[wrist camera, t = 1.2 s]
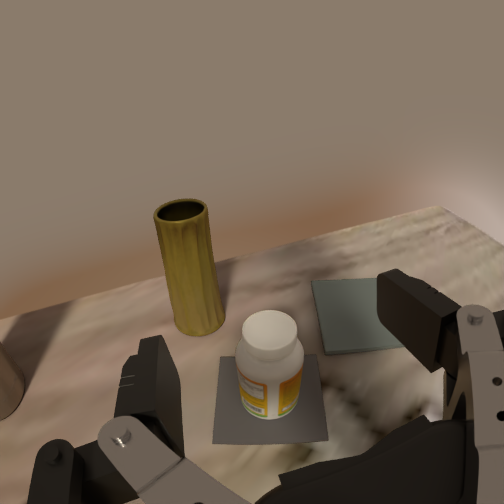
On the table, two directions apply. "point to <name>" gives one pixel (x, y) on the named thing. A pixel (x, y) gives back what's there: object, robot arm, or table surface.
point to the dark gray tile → (274, 430)
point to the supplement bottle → (269, 364)
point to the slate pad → (350, 316)
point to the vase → (189, 266)
